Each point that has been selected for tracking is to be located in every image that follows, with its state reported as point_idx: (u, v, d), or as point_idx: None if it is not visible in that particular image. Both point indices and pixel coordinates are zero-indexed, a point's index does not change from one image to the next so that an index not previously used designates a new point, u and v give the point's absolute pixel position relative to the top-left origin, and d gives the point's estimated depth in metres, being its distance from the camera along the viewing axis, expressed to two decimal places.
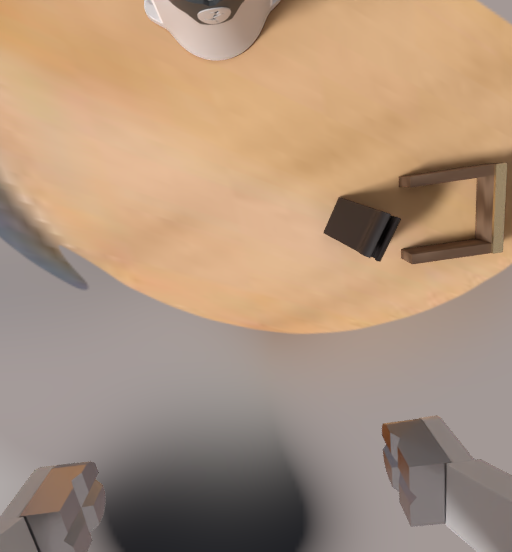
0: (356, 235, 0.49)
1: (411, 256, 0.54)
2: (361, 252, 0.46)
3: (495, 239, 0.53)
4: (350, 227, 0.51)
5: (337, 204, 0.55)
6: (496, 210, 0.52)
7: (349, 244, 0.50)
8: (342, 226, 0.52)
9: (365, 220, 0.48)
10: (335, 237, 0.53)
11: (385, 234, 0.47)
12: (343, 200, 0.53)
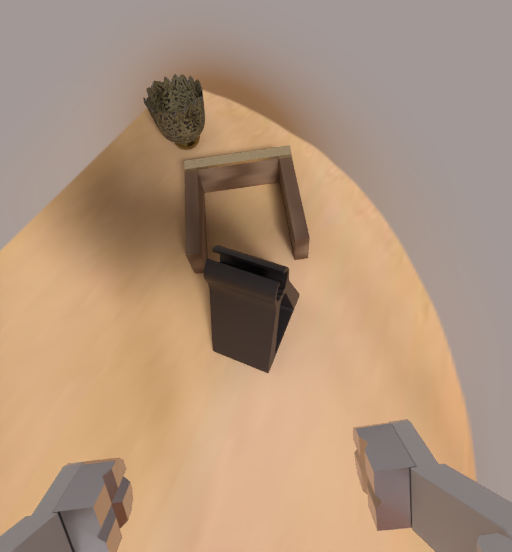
0: (254, 313, 0.29)
1: (298, 240, 0.37)
2: (272, 298, 0.26)
3: (273, 154, 0.42)
4: (246, 326, 0.31)
5: (222, 352, 0.35)
6: (237, 160, 0.42)
7: (270, 324, 0.29)
8: (249, 341, 0.32)
9: (228, 301, 0.29)
10: (268, 351, 0.32)
11: (247, 267, 0.29)
12: (214, 342, 0.34)
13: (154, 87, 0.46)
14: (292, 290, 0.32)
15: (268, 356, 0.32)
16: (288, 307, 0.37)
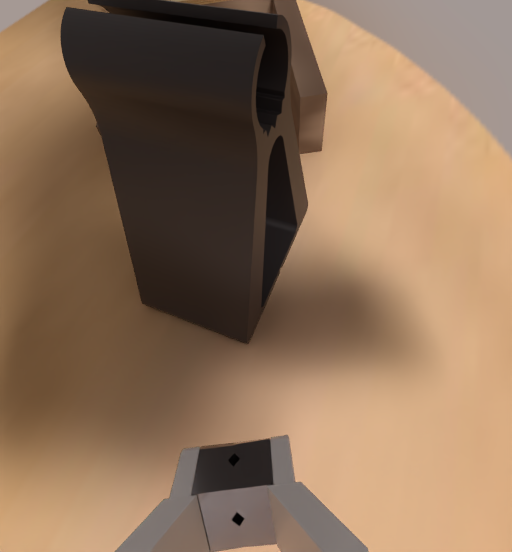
0: (205, 187, 0.12)
1: (307, 99, 0.20)
2: (244, 97, 0.09)
3: None
4: (193, 229, 0.14)
5: (158, 304, 0.18)
6: None
7: (246, 213, 0.12)
8: (205, 270, 0.15)
9: (146, 160, 0.12)
10: (244, 290, 0.14)
11: None
12: (141, 284, 0.17)
13: None
14: (297, 164, 0.15)
15: (246, 304, 0.15)
16: (288, 224, 0.20)
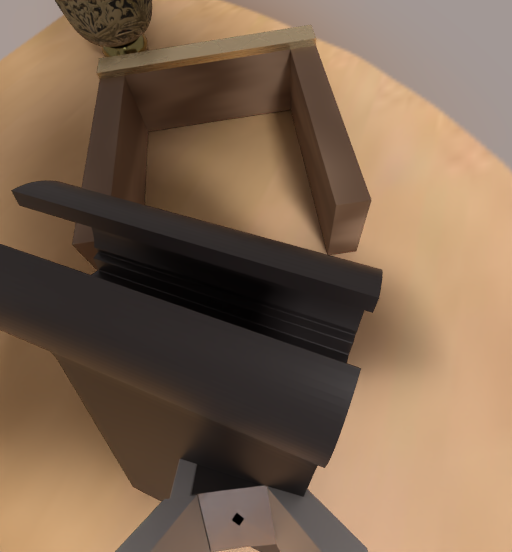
0: (224, 451, 0.08)
1: (344, 207, 0.15)
2: (314, 455, 0.04)
3: (279, 41, 0.21)
4: None
5: (155, 496, 0.13)
6: (206, 52, 0.21)
7: (290, 491, 0.08)
8: None
9: (129, 402, 0.08)
10: None
11: (193, 272, 0.07)
12: (131, 477, 0.13)
13: None
14: None
15: None
16: None
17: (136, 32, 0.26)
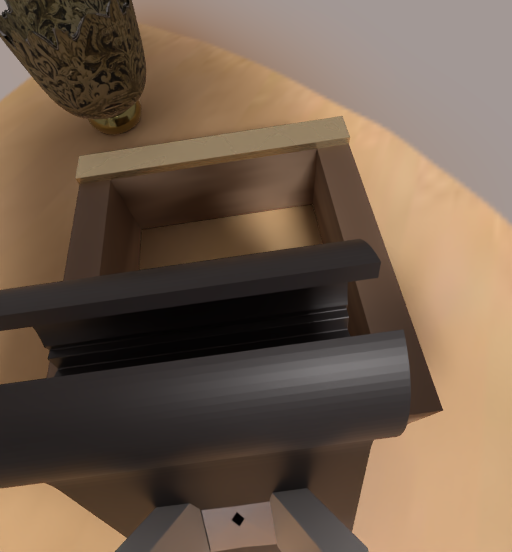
0: (276, 479, 0.07)
1: None
2: (390, 429, 0.05)
3: (303, 139, 0.17)
4: None
5: None
6: (212, 153, 0.17)
7: (349, 479, 0.08)
8: None
9: (159, 486, 0.07)
10: None
11: (169, 323, 0.07)
12: None
13: None
14: None
15: None
16: None
17: (127, 104, 0.22)
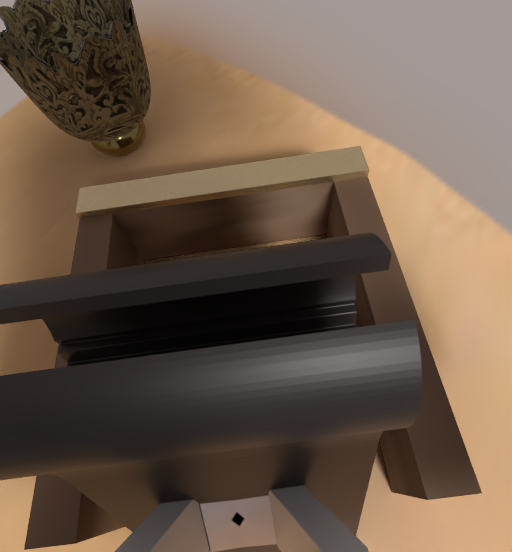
0: (284, 473, 0.07)
1: (438, 497, 0.10)
2: (401, 419, 0.05)
3: (319, 172, 0.15)
4: None
5: None
6: (221, 186, 0.16)
7: (357, 474, 0.08)
8: None
9: (167, 480, 0.07)
10: (350, 523, 0.10)
11: (179, 317, 0.07)
12: None
13: (23, 8, 0.19)
14: None
15: (352, 530, 0.11)
16: None
17: (131, 126, 0.21)
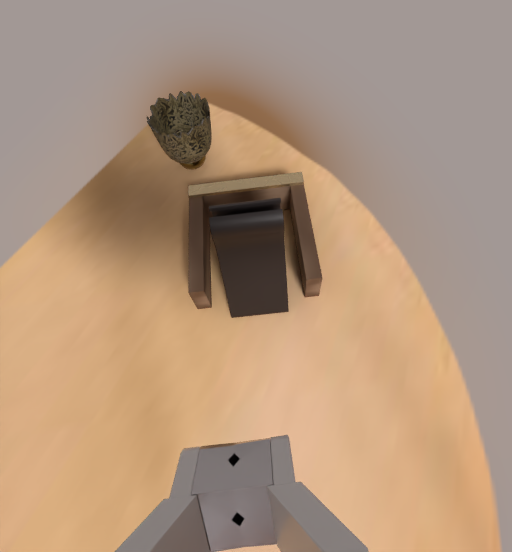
0: (264, 254, 0.31)
1: (310, 280, 0.34)
2: (281, 226, 0.29)
3: (284, 182, 0.40)
4: (259, 272, 0.33)
5: (241, 313, 0.36)
6: (246, 186, 0.40)
7: (281, 257, 0.32)
8: (265, 286, 0.34)
9: (237, 254, 0.31)
10: (284, 287, 0.34)
11: None
12: (231, 307, 0.36)
13: (158, 104, 0.43)
14: None
15: (285, 292, 0.35)
16: None
17: (202, 157, 0.45)
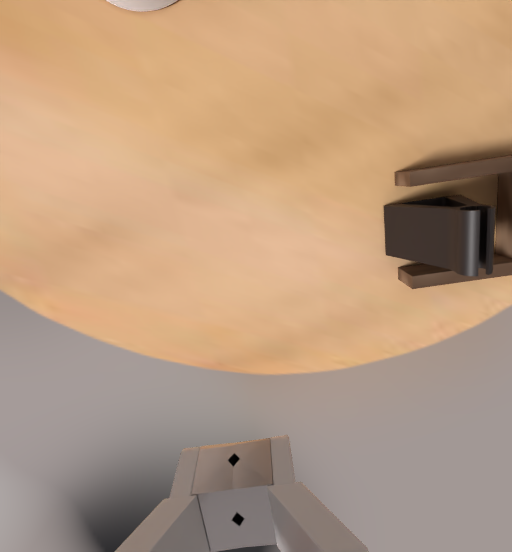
0: (438, 249, 0.36)
1: (411, 279, 0.40)
2: (461, 272, 0.33)
3: None
4: (422, 240, 0.37)
5: (386, 215, 0.41)
6: None
7: (433, 262, 0.36)
8: (409, 242, 0.39)
9: (441, 226, 0.35)
10: (406, 257, 0.40)
11: (480, 232, 0.33)
12: (392, 208, 0.40)
13: None
14: None
15: (402, 257, 0.41)
16: None
17: None
